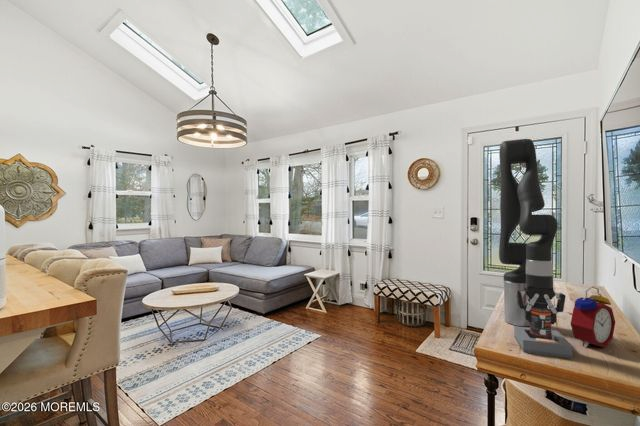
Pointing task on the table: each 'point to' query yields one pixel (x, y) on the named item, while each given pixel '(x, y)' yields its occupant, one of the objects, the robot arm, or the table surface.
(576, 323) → the alarm clock
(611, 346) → the table surface
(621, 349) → the table surface
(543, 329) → the supplement bottle
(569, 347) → the socket holder
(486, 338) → the table surface
